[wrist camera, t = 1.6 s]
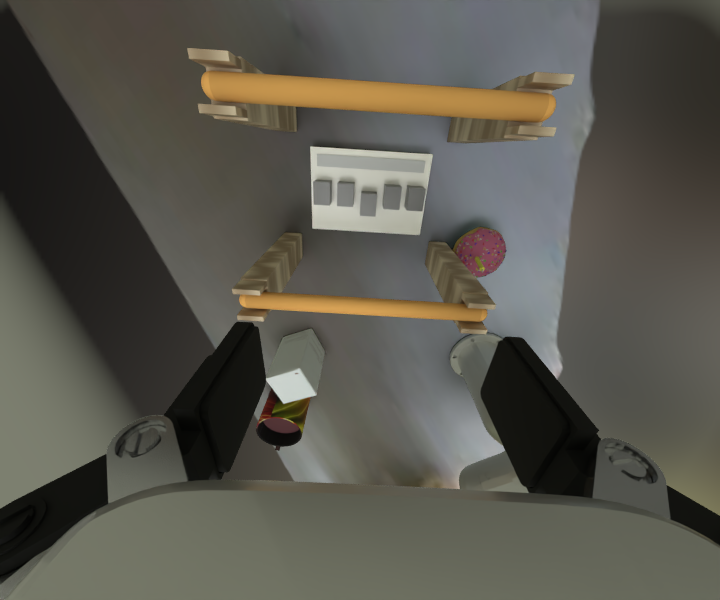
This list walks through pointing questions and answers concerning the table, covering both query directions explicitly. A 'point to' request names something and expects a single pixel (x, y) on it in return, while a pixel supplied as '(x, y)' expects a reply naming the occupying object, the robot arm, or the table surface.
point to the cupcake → (481, 250)
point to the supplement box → (297, 366)
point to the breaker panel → (368, 190)
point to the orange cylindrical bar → (363, 306)
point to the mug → (282, 421)
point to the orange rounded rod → (377, 96)
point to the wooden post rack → (440, 258)
